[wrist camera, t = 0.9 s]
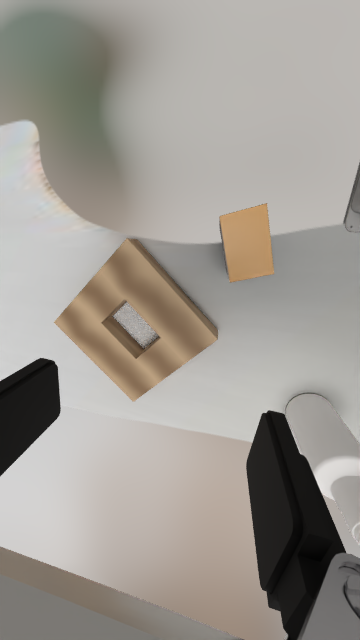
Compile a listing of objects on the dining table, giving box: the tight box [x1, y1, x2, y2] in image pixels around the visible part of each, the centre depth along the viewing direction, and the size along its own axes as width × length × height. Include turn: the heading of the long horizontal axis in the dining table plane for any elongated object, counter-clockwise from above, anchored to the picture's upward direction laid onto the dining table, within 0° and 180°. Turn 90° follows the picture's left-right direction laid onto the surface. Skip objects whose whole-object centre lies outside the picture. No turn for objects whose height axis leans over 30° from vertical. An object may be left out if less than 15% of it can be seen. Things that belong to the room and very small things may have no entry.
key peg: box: [220, 203, 274, 282], centre depth 24 cm, size 4×6×10 cm, turn 13°
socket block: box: [54, 238, 218, 402], centre depth 33 cm, size 18×18×4 cm
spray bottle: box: [286, 394, 360, 545], centre depth 26 cm, size 7×7×18 cm
